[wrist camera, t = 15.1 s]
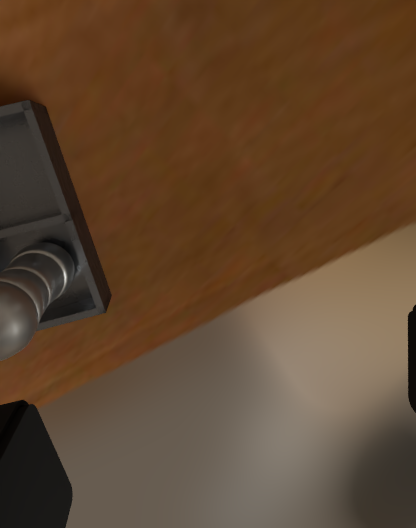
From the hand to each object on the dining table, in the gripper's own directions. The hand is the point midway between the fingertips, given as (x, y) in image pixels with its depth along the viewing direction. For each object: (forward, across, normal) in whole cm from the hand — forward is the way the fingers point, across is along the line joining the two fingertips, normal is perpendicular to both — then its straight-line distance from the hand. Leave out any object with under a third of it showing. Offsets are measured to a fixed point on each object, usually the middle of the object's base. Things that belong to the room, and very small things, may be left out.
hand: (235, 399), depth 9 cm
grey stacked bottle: (+34, +16, +4) cm, 38 cm away
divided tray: (+35, +17, -1) cm, 39 cm away
